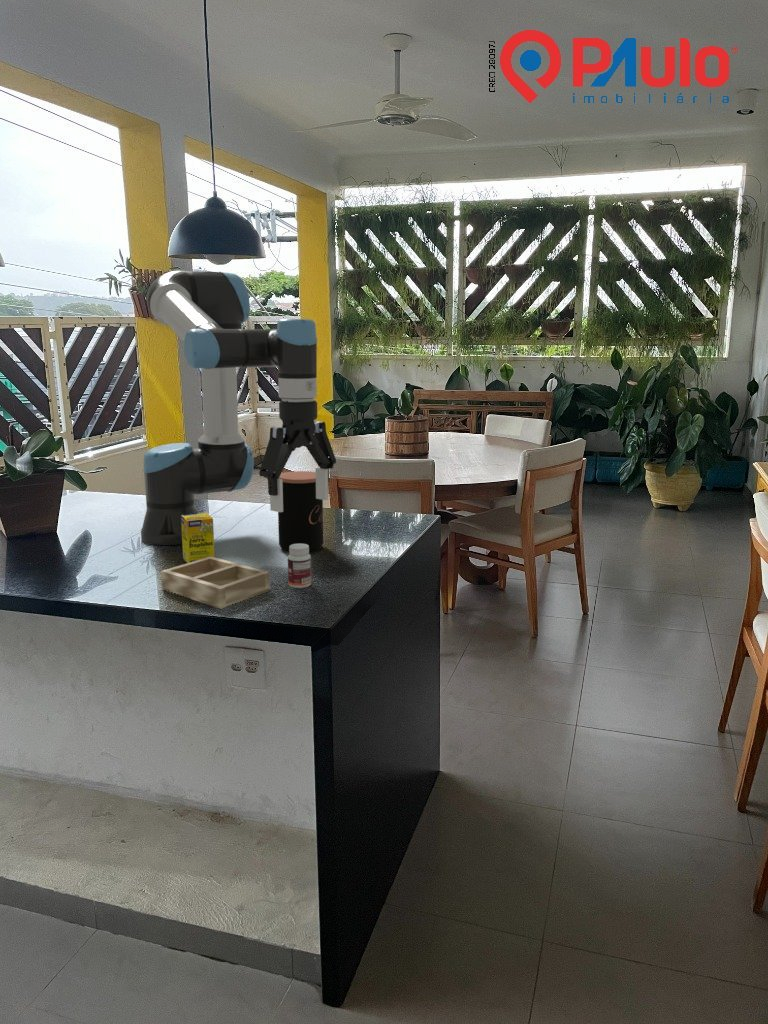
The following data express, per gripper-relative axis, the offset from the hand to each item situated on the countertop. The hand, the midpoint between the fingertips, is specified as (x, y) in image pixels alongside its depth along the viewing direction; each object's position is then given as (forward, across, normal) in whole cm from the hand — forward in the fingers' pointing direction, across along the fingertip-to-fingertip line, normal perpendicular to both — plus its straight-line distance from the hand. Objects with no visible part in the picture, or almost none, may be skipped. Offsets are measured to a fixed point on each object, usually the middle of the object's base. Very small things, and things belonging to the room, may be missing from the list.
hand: (300, 505), depth 155 cm
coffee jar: (+17, +20, +18) cm, 32 cm away
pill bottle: (+17, 0, 0) cm, 17 cm away
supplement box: (+17, -3, +28) cm, 33 cm away
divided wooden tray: (+17, -13, +11) cm, 24 cm away
